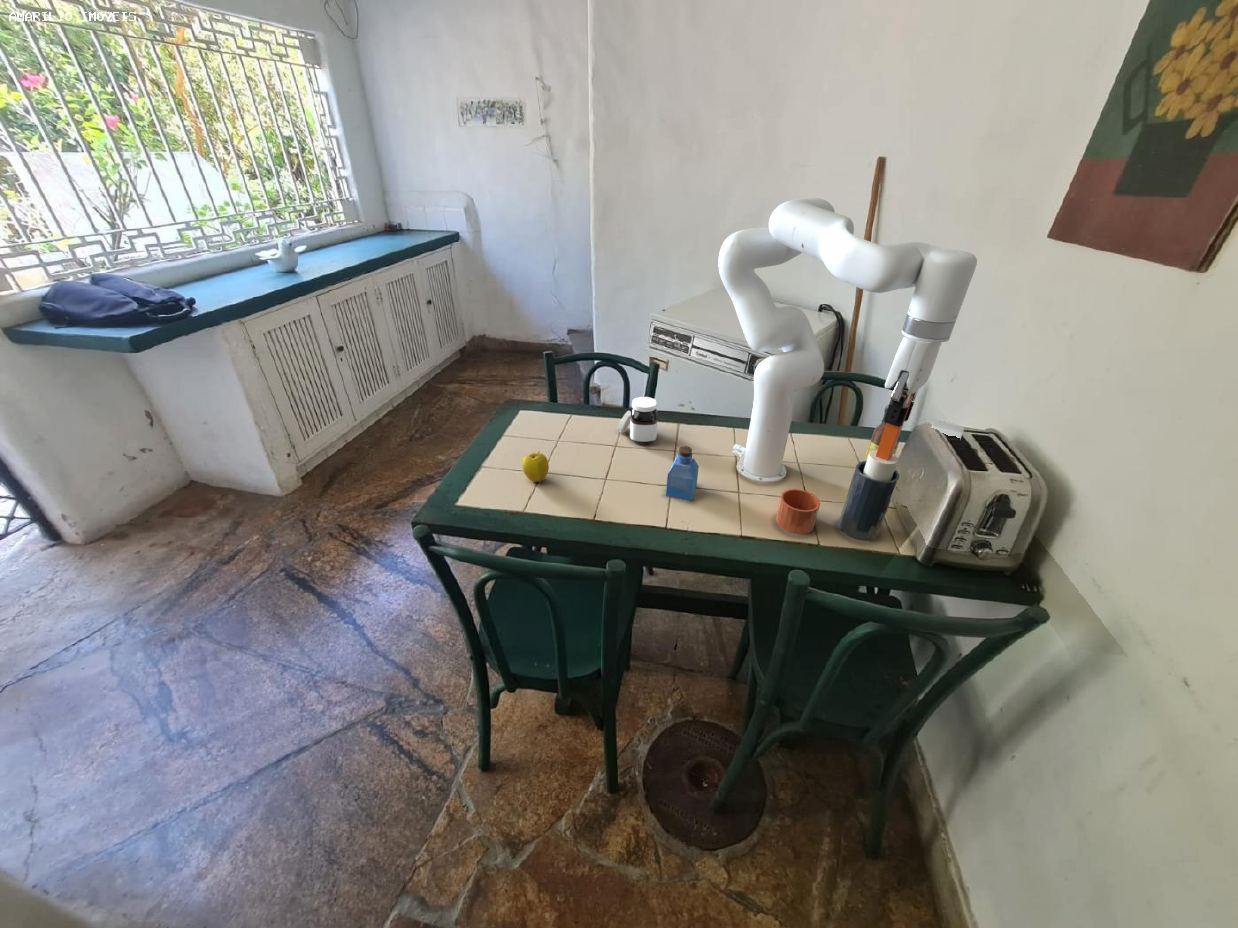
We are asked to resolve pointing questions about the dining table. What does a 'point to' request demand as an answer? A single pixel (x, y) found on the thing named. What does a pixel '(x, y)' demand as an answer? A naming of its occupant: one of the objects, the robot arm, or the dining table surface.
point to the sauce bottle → (878, 437)
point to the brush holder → (797, 511)
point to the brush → (884, 453)
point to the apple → (535, 466)
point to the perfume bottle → (683, 475)
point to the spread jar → (641, 420)
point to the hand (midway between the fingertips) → (895, 420)
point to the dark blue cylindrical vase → (866, 505)
